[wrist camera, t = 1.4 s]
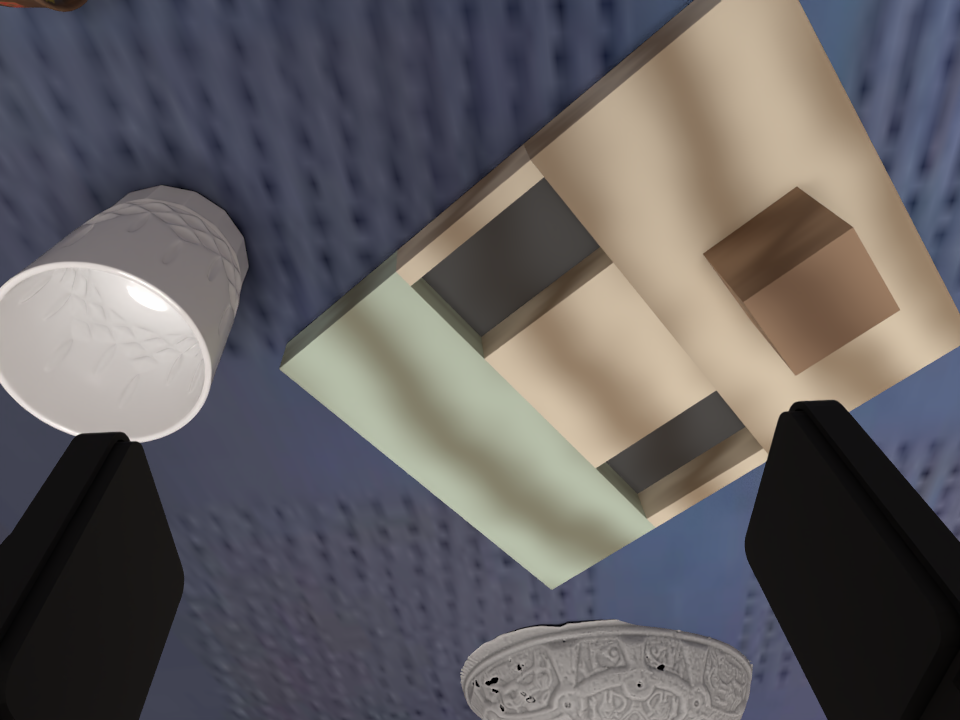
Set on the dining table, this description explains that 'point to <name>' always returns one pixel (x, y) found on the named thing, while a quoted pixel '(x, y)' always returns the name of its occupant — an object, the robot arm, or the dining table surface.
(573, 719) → the embossed grey dome
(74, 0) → the tin
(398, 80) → the dining table surface
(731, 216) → the board
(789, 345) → the walnut block
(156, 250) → the white cup
